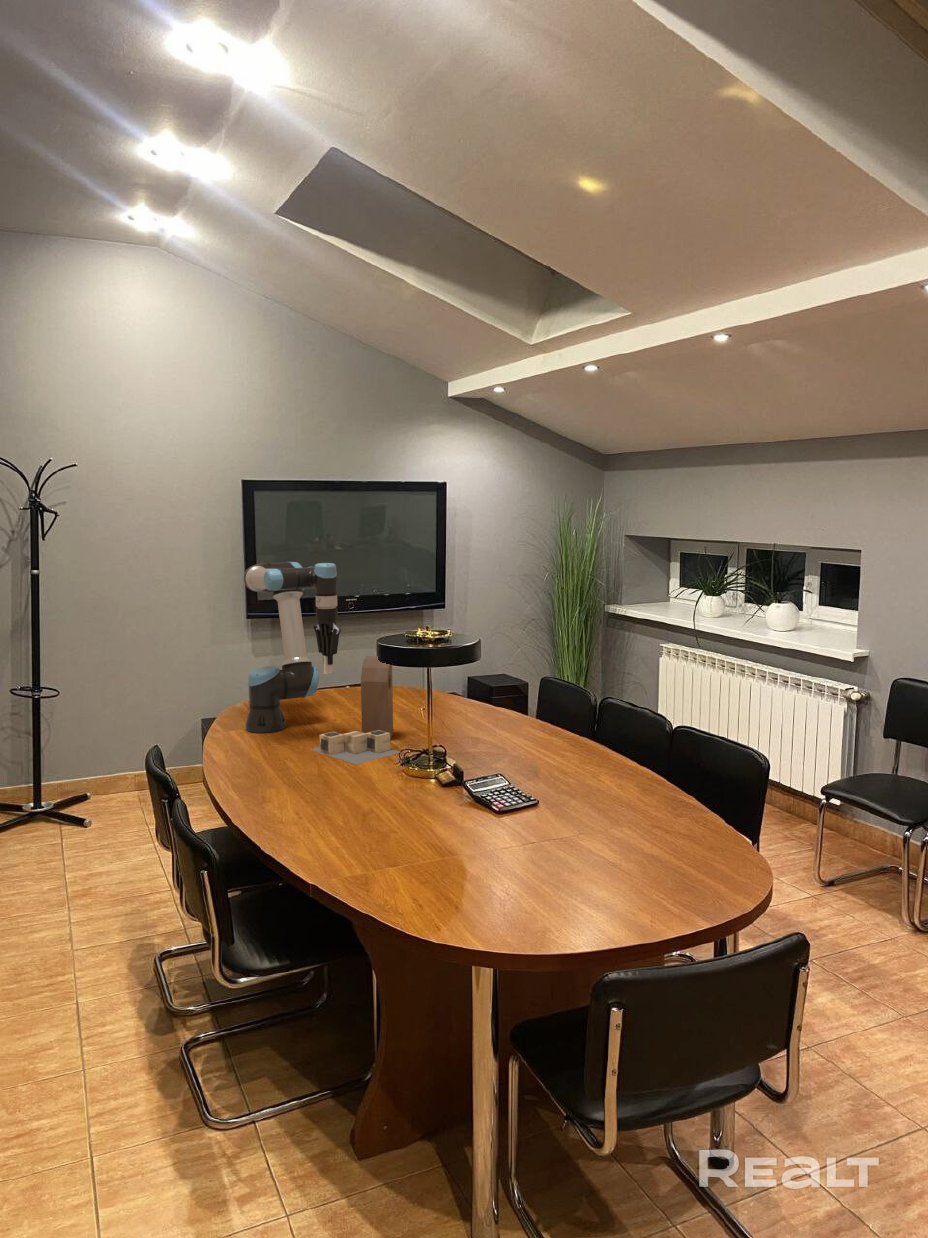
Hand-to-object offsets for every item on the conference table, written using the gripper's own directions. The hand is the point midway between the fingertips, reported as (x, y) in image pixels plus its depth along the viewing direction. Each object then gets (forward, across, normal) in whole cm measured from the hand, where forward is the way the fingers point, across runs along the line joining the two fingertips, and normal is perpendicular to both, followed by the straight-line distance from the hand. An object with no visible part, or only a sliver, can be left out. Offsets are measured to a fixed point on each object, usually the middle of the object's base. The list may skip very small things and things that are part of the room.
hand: (328, 673), depth 329 cm
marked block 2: (+26, +18, +7) cm, 32 cm away
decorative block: (+27, +5, +18) cm, 33 cm away
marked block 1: (+26, +8, -5) cm, 28 cm away
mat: (+26, +13, +1) cm, 29 cm away
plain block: (+26, +13, +1) cm, 29 cm away
